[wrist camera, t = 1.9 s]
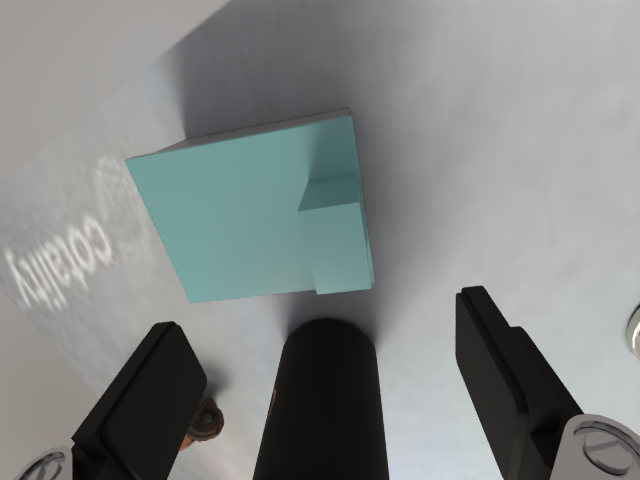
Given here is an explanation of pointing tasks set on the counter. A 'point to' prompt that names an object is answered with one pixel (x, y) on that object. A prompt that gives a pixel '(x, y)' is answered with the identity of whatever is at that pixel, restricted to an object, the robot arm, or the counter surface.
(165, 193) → the teal platform with post
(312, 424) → the coffee jar
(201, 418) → the brown looped piece
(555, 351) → the counter surface
